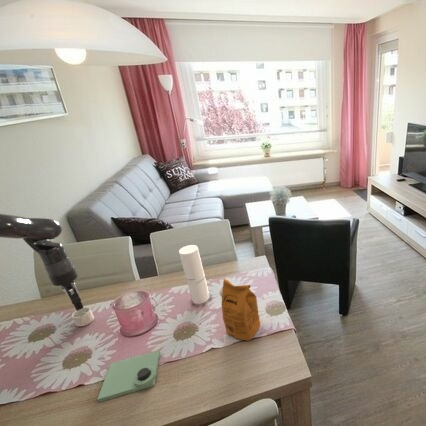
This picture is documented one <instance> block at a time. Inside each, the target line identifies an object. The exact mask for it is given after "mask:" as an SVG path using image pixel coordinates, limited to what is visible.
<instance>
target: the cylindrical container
mask: <svg viewBox="0 0 426 426" xmlns="http://www.w3.org/2000/svg"><path fill="white" fill-rule="evenodd" d="M178 255H179V257H180V262H181V265H182V269H183V272H184V276H185V279H186V282H187V283H186V284H187V287H188V291H189V293H190V297H191V301H192V303H193V304H194V305H201V304H204V303H206V302H207V301H208V300H209V299H210V292H209V288H208V283H207V279H206V275H205V271H204V267H203V262H202V259H201V256H200V255H201V254H200V250H199V247H198V245H196V244H189V245H185V246H183V247H181V248H180V249H179V250H178Z"/></svg>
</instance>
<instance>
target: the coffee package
mask: <svg viewBox="0 0 426 426" xmlns="http://www.w3.org/2000/svg"><path fill="white" fill-rule="evenodd" d="M222 283H223V284H222V292H221V313H222V321H223V323H224V328H225V332H226V334H227V335H229V336H233V338H235V339H237V340H240V341H247V342H249V341H251V340H252V339H253V338H254V336H255V335H256V334H257V332H258V331H259V329H260V327H261V321H260V315H259V306H258V305H259V304H258V300H257V298H258V297H257V295H256V294H255V293H254V292H253V291H252V290H251V289H250V288H251V284H242V285H234V284H233V283H232V282H231V281H230V280H229V279H226V278H225V279H223V282H222Z"/></svg>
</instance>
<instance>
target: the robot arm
mask: <svg viewBox="0 0 426 426" xmlns="http://www.w3.org/2000/svg"><path fill="white" fill-rule="evenodd" d="M62 232H63V227H62V225H61V224H60V222H59V221H57V220H55V219H52V218H45V217H43V218H42V217H25V216H21V215H14V214H7V213H0V238H2V239H3V238H4V239H18V240H19V239H22V240H23V241H24V242H25V243H26V244H27V245H28V246H29V247H30V248H31V249H32V250H33V251H34V252H35V253H36V254H37V255H38V257H39V259H40V261H41V263H42V264H43V268H44V270H45V273H46V274H47V277H48V279H49V280H50V282H51V284H52V286H56V287H60V288H61V289H62V291H63V293H64V294H65V295H66V297H67V299H70V301H71V304H72V305H73V306H74V308H75V311H76V310H77V311H78V310H80V309H82V308H83V307H84V305H83V303H82V298H81V297H80V292H79V290H78V288H77V287H78V286H77V284H76V283H75V280H77V278H78V277H79V274H78V272H77V270H76V268H75V266H74V264H73V262H72V259H71V258H70V257H69V255H68V253H67V251H66V248H65V247H64V244H62V243H61V242H58V241H52V240H54V239H57V238H58V237H60V235H61V234H62Z"/></svg>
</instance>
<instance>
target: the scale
mask: <svg viewBox="0 0 426 426" xmlns="http://www.w3.org/2000/svg"><path fill="white" fill-rule="evenodd" d="M160 353H161V350H156V351H151V352H148V353H144V354H140V355H137V356H132V357H128V358H126V359H121V360H118V361H114V362H110V364H109V367H108V370H107V371H106V375H105V377H104V380H103V383H102V385H101V387H100V388H101V389H100V391H99V394H98V395H97V402H98V403H101V402H105V401H108V400H112V399H116V398H118V397H121V396H125V395H128V394H132V393H135V392H139V391H142V390H145V389H148V388H152V387H155V385H156V379H157V374H158V369H159V364H158V363H160V359H159V357H160V358H161V354H160ZM143 368H148V369H149V371H150V376H149V377H148V378H147V379H145V380H143V381H141V380H139V378H138V376H137V374H138V372H139V371H140V370H141V369H143Z"/></svg>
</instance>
